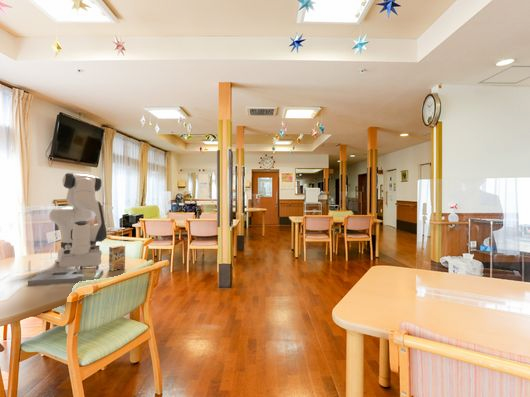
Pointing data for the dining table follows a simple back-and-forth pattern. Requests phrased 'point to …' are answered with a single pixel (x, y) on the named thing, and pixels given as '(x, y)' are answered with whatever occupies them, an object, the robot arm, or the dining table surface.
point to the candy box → (116, 257)
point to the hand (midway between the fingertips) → (80, 273)
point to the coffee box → (94, 249)
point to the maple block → (89, 272)
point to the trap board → (61, 277)
